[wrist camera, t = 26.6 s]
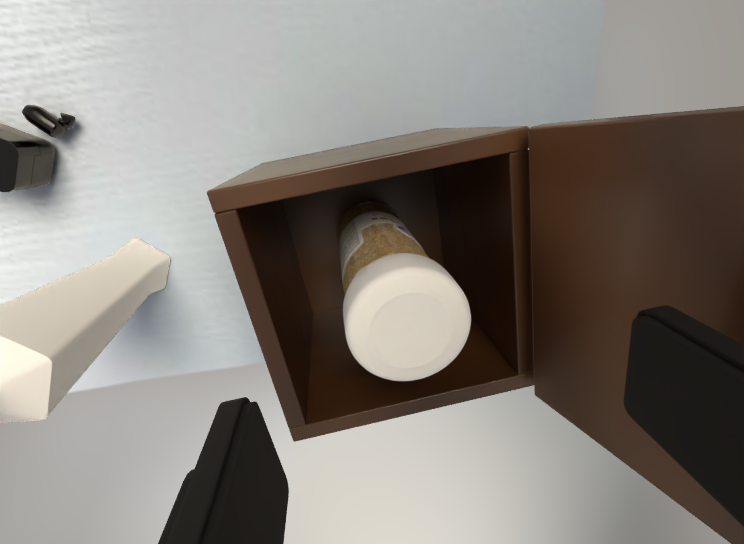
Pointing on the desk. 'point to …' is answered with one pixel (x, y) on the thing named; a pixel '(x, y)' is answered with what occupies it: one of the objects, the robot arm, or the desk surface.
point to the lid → (633, 265)
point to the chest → (430, 229)
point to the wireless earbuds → (30, 150)
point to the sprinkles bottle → (397, 298)
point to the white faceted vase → (70, 327)
